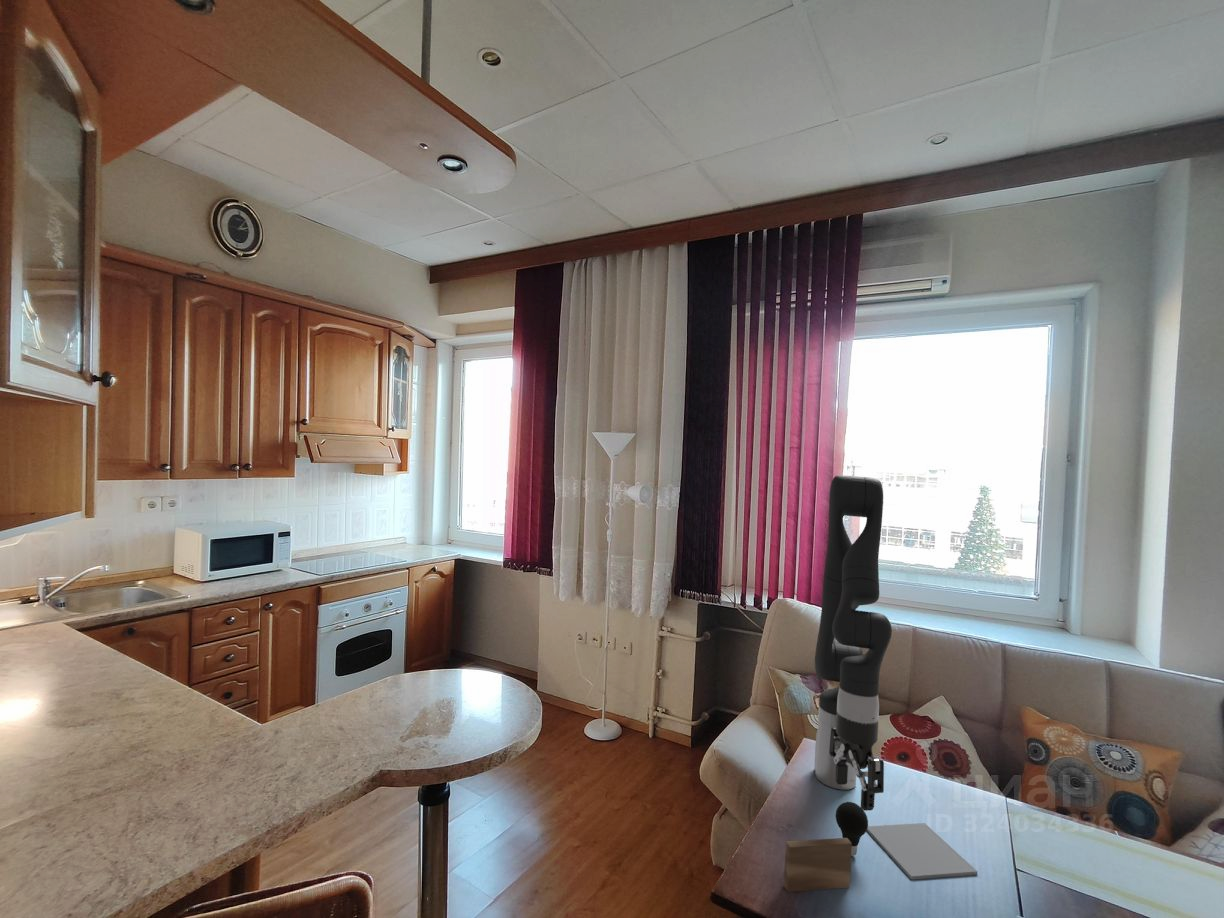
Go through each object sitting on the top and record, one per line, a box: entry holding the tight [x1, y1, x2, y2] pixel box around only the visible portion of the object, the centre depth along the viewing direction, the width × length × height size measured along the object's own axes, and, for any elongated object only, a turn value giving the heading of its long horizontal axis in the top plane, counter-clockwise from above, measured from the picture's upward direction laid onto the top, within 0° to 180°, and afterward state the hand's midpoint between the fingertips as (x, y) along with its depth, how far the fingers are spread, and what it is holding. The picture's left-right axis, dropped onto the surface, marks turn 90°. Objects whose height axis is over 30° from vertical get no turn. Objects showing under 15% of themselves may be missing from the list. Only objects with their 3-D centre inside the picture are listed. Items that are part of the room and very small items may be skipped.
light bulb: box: [835, 801, 869, 857], centre depth 109 cm, size 6×6×10 cm
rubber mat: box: [866, 822, 978, 880], centre depth 111 cm, size 14×14×1 cm
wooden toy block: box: [783, 837, 852, 893], centre depth 100 cm, size 2×12×8 cm, turn 99°
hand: (853, 795), depth 108 cm, fingers open, 8 cm apart
